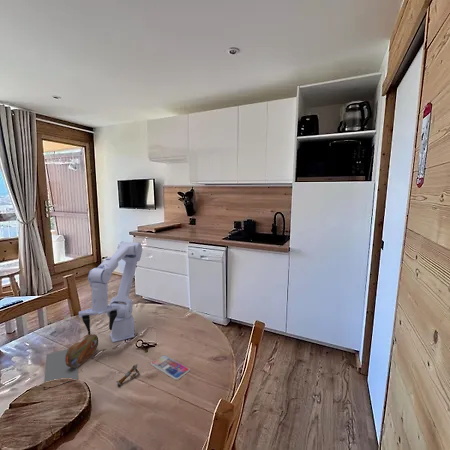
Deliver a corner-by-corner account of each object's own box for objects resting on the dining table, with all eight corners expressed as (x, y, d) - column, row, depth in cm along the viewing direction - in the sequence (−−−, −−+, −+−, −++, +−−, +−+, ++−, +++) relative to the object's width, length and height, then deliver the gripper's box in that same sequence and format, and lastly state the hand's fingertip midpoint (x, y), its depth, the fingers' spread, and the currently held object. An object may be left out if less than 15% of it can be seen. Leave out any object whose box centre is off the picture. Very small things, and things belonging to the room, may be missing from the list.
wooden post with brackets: (142, 372, 94) (137, 364, 92) (123, 391, 89) (118, 383, 87) (139, 369, 96) (135, 361, 94) (121, 388, 90) (115, 380, 88)
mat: (75, 347, 110) (75, 347, 109) (78, 379, 91) (78, 378, 91) (46, 355, 104) (46, 354, 104) (43, 390, 86) (43, 389, 86)
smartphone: (164, 354, 106) (191, 368, 97) (164, 356, 106) (191, 371, 97) (149, 362, 100) (176, 379, 91) (149, 365, 100) (176, 382, 91)
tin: (71, 373, 94) (71, 350, 93) (63, 371, 94) (63, 349, 93) (99, 350, 108) (99, 330, 108) (92, 348, 109) (92, 329, 108)
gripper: (79, 304, 95) (79, 340, 96) (120, 298, 103) (121, 331, 104) (78, 298, 101) (78, 332, 102) (118, 293, 109) (118, 324, 110)
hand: (100, 331), depth 103 cm, fingers open, 7 cm apart
